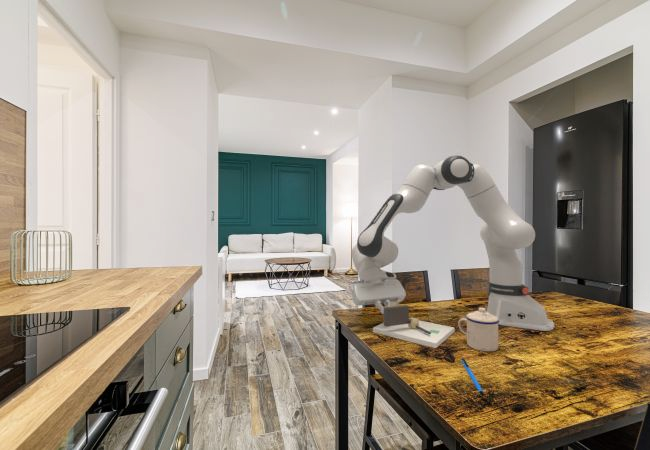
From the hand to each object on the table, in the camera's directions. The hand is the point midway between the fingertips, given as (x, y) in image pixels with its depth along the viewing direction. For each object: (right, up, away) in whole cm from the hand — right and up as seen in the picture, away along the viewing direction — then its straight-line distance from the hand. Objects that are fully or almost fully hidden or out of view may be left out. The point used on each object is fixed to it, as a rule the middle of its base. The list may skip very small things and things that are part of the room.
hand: (386, 312), depth 107 cm
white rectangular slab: (+9, -7, 0) cm, 12 cm away
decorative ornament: (+9, -7, +29) cm, 31 cm away
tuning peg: (+6, -5, -5) cm, 9 cm away
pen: (+15, -7, -31) cm, 35 cm away
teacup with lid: (+26, -7, -11) cm, 29 cm away
